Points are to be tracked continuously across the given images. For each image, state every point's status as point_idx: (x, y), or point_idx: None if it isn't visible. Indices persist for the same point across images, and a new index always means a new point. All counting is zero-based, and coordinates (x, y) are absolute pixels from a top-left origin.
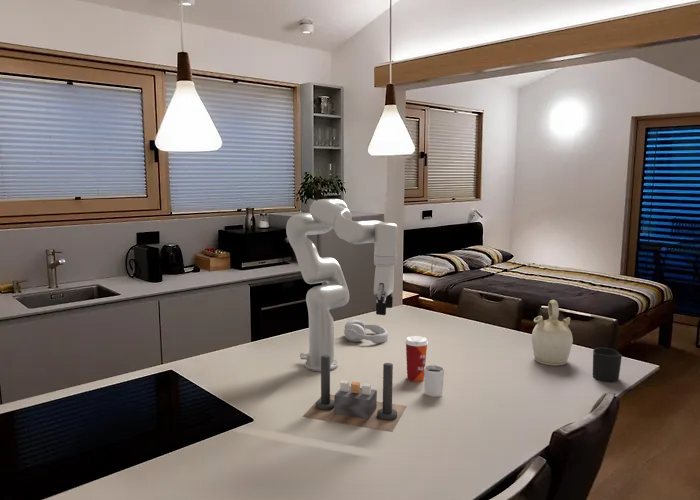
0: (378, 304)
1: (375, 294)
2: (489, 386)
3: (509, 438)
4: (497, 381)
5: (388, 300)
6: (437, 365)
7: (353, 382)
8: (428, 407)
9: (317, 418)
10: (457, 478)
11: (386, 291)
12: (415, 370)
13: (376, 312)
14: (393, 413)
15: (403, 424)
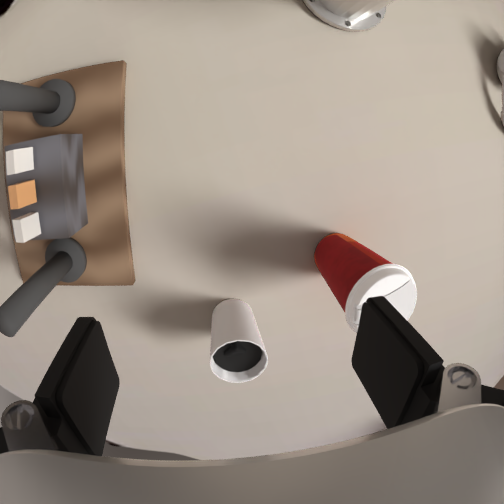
0: (36, 405)
1: (59, 462)
2: (321, 388)
3: (129, 425)
4: (347, 392)
5: (384, 383)
6: (266, 364)
7: (14, 190)
8: (172, 318)
9: (4, 122)
10: (6, 371)
11: None
12: (322, 271)
13: (76, 327)
14: (65, 275)
15: (75, 288)
